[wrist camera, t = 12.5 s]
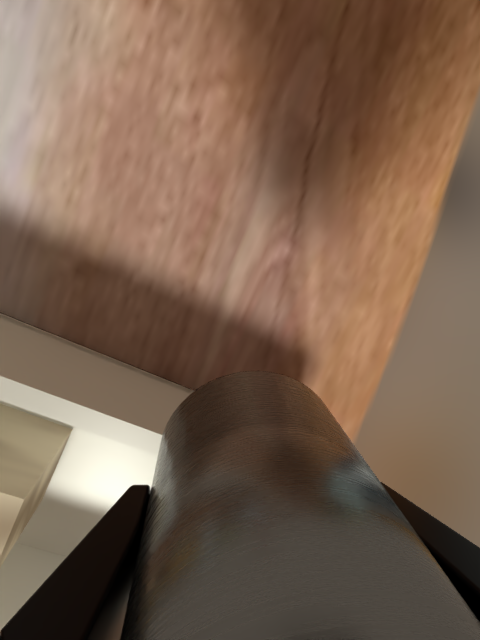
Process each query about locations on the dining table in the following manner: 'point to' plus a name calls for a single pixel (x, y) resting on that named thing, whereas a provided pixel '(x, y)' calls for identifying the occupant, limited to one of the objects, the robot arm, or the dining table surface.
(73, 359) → the tote
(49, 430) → the wood cube
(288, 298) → the dining table surface
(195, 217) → the dining table surface
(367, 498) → the metal cylinder
